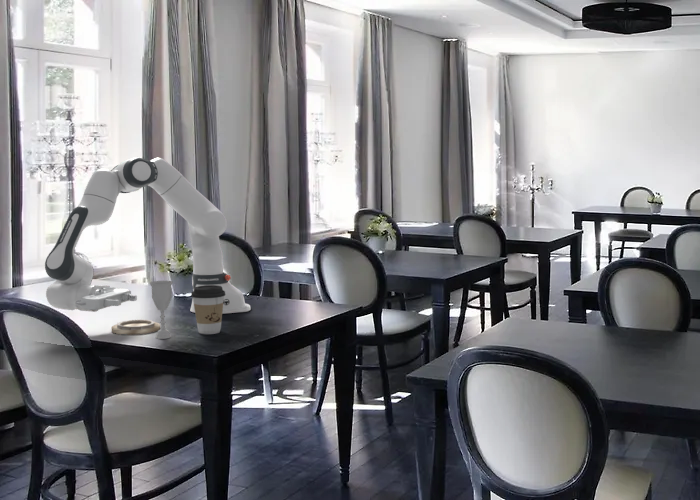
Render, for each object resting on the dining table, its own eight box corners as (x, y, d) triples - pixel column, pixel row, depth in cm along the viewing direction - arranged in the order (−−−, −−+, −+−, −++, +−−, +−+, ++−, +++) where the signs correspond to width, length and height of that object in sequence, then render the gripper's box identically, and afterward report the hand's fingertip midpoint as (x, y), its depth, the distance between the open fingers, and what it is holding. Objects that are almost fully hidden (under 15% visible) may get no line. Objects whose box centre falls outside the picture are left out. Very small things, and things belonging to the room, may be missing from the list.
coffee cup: (201, 337, 275) (200, 291, 273) (186, 331, 284) (184, 287, 282) (232, 332, 281) (231, 287, 279) (216, 326, 290) (215, 283, 289)
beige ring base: (160, 323, 297) (160, 317, 296) (160, 333, 281) (160, 326, 281) (113, 326, 293) (112, 319, 293) (110, 336, 278) (109, 329, 277)
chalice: (176, 334, 279) (174, 280, 277) (172, 339, 272) (170, 283, 270) (154, 334, 279) (152, 280, 276) (149, 339, 272) (147, 284, 270)
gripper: (71, 293, 272) (109, 296, 267) (108, 284, 291) (144, 286, 287) (72, 313, 272) (109, 315, 268) (109, 302, 292) (144, 304, 287)
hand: (127, 300), depth 278 cm, fingers open, 8 cm apart
